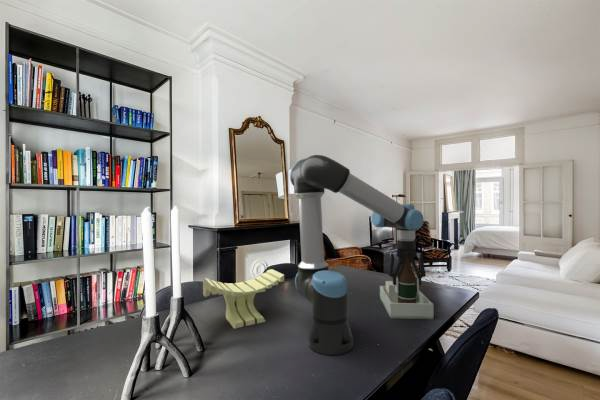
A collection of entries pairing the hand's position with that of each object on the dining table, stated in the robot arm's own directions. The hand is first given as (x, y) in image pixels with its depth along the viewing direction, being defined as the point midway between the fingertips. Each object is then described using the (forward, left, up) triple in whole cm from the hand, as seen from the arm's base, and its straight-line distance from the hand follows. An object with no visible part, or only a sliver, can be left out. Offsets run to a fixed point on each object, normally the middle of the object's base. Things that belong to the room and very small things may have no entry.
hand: (407, 292), depth 126 cm
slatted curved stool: (-69, -11, -9) cm, 70 cm away
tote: (0, +6, -8) cm, 10 cm away
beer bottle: (0, 0, -6) cm, 6 cm away
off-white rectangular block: (0, +13, -7) cm, 15 cm away
